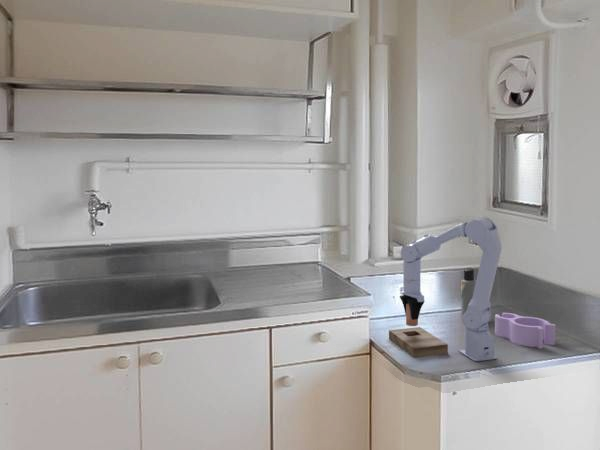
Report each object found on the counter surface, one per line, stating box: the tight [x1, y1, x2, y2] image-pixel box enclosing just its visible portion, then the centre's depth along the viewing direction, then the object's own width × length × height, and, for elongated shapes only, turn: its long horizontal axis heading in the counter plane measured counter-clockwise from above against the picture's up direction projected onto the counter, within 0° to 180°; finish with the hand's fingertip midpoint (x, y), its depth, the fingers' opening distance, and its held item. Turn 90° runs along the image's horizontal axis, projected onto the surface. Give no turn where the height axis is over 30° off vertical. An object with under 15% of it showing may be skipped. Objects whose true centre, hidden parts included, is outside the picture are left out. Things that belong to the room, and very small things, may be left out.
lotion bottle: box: [460, 267, 476, 319], centre depth 216 cm, size 6×6×20 cm
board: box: [388, 326, 449, 358], centre depth 186 cm, size 20×12×3 cm, turn 14°
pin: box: [405, 303, 419, 327], centre depth 189 cm, size 4×4×7 cm
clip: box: [494, 312, 556, 350], centre depth 190 cm, size 20×12×7 cm, turn 31°
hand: (411, 317), depth 189 cm, fingers closed on pin, 4 cm apart
